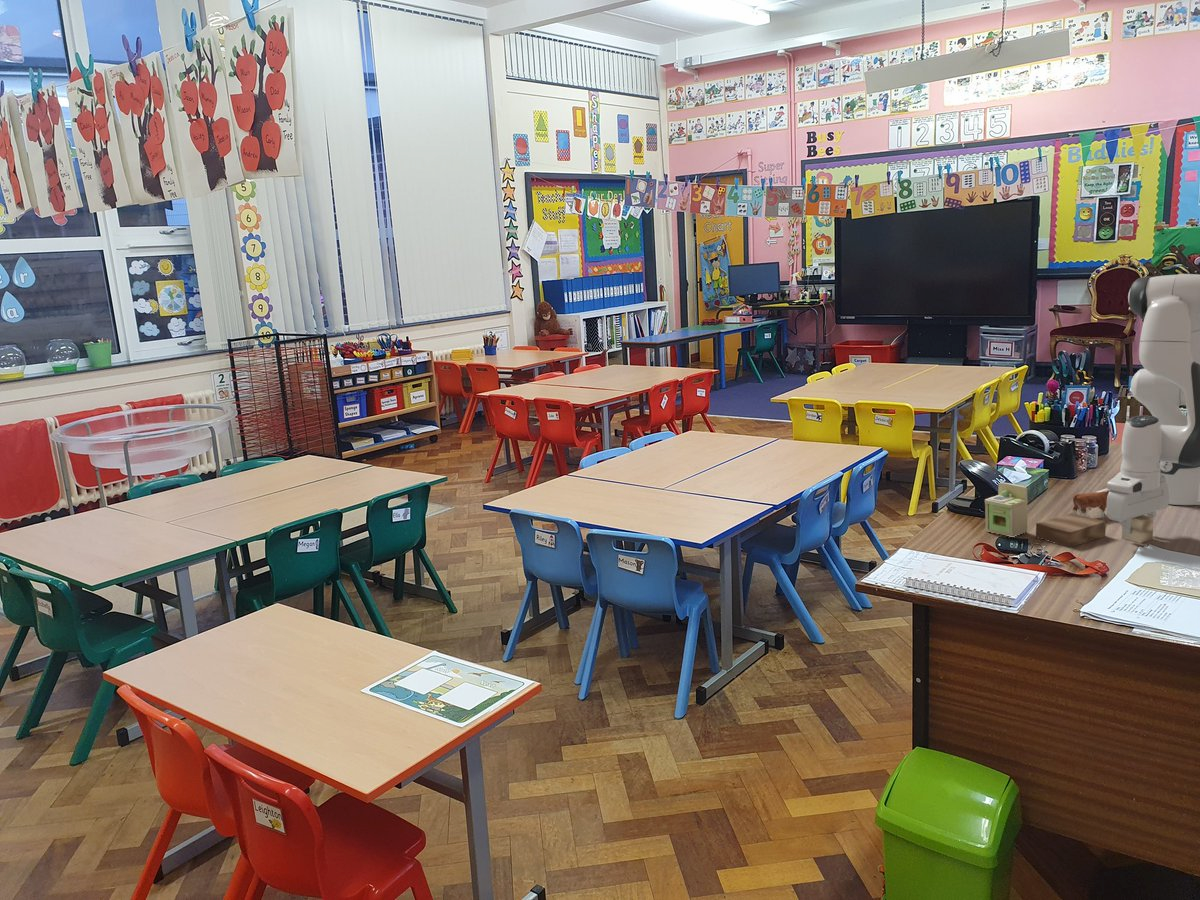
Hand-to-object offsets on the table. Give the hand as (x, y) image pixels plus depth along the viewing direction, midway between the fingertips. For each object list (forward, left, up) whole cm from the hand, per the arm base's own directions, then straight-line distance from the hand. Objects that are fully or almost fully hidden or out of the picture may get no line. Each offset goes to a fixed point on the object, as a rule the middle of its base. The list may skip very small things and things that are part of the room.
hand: (1137, 530), depth 232 cm
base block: (+11, -11, -2) cm, 16 cm away
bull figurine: (-9, -18, -2) cm, 20 cm away
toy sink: (+20, -24, -2) cm, 31 cm away
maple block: (0, 0, -2) cm, 2 cm away
